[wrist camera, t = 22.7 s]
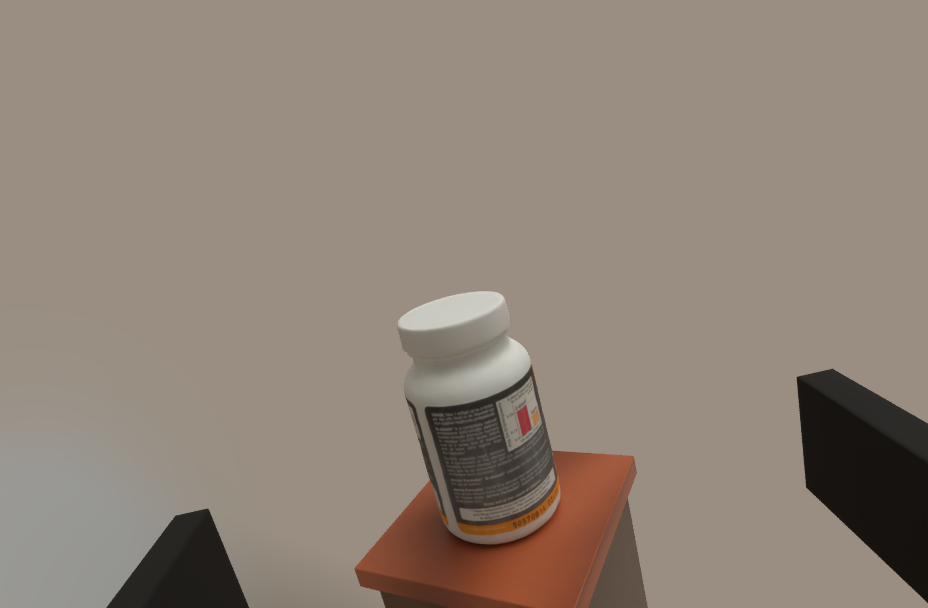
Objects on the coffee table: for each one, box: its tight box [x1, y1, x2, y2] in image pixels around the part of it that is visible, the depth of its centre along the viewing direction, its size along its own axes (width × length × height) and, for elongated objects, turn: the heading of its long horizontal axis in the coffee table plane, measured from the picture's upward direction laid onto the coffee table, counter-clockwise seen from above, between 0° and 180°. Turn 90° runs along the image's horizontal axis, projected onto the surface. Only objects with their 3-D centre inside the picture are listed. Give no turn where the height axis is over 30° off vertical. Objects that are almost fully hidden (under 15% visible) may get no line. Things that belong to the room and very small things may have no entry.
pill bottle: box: [397, 291, 560, 544], centre depth 25 cm, size 6×6×10 cm
